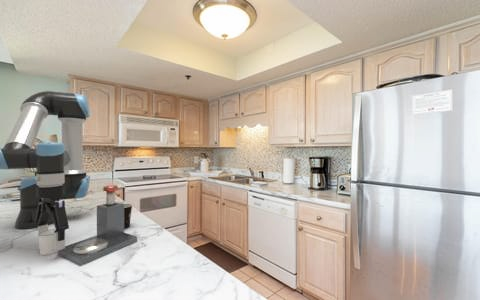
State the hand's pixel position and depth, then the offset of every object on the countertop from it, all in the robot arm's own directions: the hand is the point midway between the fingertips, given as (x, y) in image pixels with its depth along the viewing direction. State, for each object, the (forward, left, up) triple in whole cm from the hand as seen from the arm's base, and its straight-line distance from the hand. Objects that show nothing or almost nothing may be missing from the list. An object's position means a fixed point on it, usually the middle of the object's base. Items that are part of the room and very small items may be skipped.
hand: (51, 246), depth 77 cm
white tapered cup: (-1, 0, -2) cm, 2 cm away
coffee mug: (-1, +28, -2) cm, 28 cm away
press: (+12, +10, -2) cm, 16 cm away
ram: (+8, +17, +8) cm, 20 cm away
